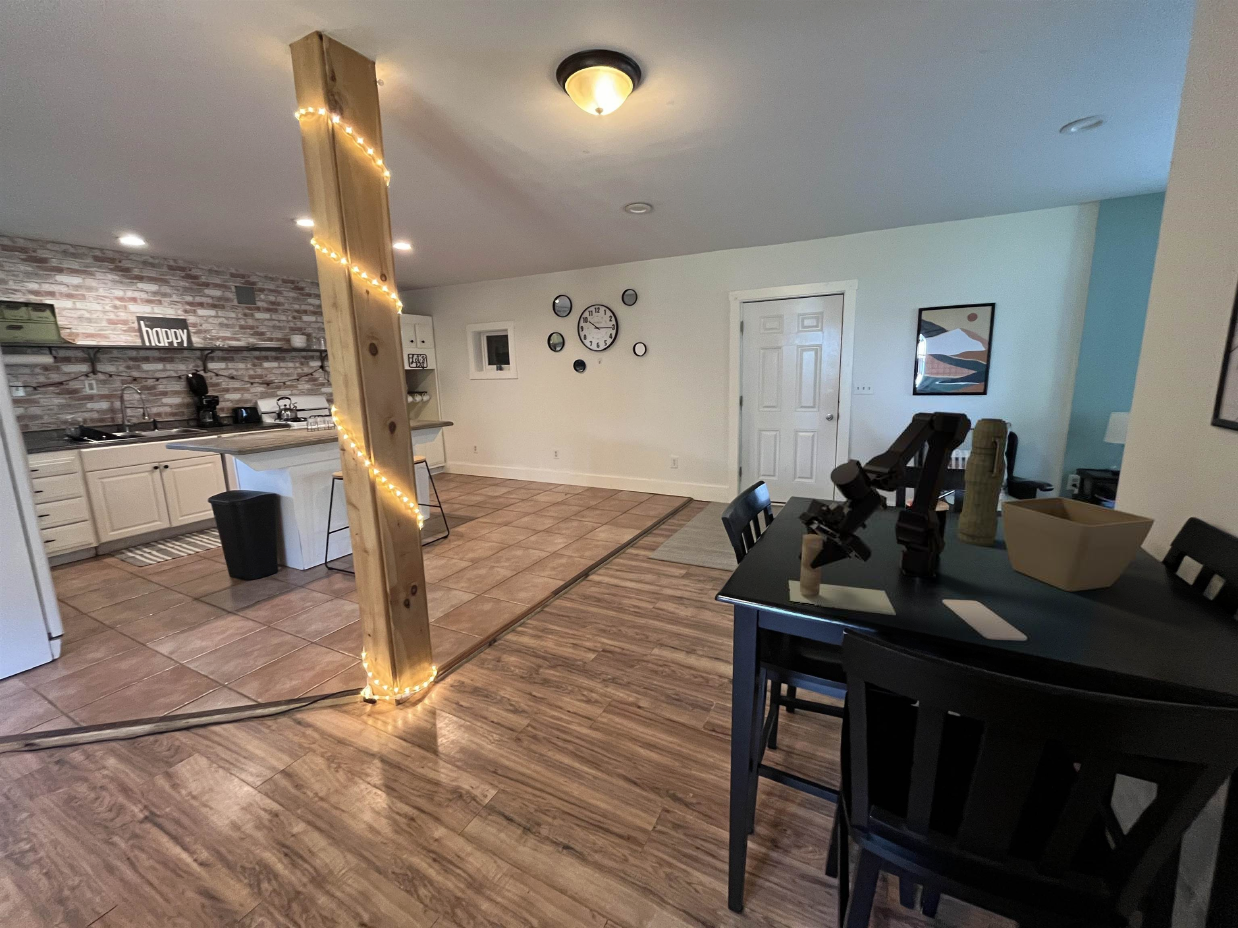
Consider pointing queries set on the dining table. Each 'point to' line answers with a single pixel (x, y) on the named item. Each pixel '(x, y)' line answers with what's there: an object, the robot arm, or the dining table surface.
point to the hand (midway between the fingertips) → (805, 563)
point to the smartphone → (984, 620)
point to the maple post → (809, 553)
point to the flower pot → (1071, 541)
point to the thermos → (983, 483)
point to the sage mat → (844, 598)
